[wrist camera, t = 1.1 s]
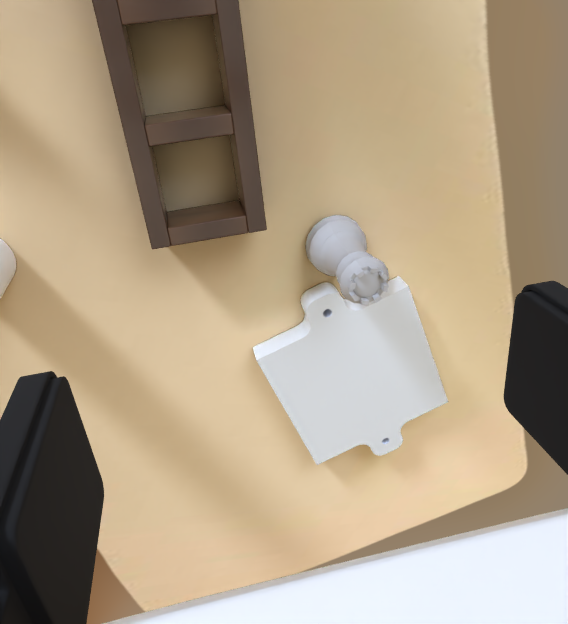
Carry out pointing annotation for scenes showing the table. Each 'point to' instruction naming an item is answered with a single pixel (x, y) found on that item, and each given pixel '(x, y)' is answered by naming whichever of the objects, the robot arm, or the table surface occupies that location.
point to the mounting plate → (353, 370)
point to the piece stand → (186, 120)
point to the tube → (6, 266)
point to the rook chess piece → (347, 259)
